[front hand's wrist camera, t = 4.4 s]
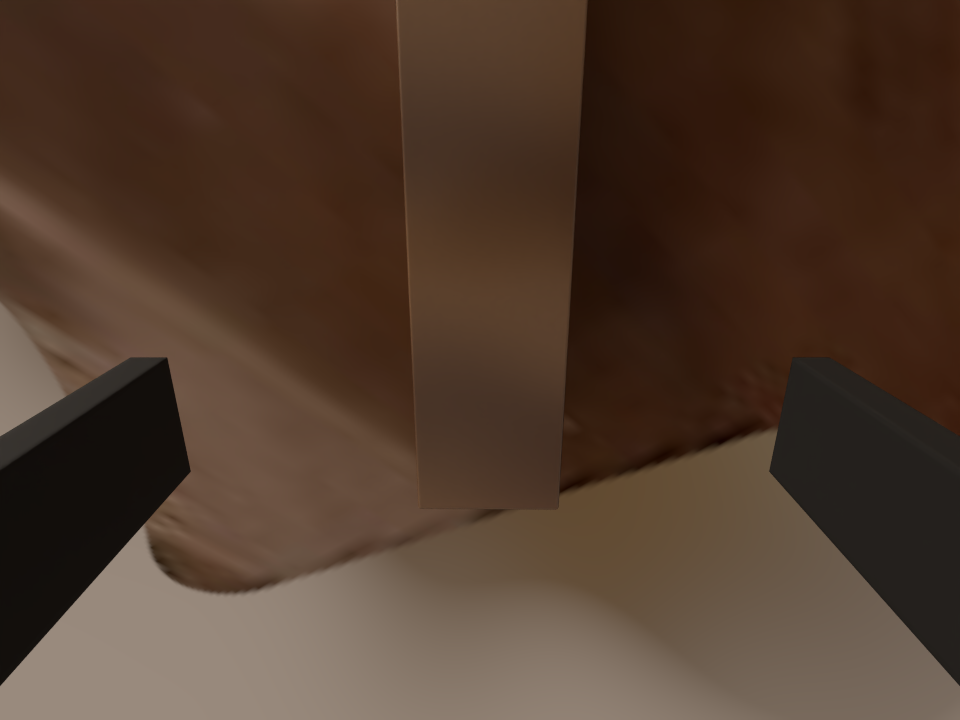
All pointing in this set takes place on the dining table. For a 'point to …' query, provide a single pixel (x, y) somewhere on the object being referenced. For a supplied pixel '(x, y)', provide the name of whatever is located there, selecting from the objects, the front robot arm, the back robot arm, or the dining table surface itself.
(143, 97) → the dining table surface
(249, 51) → the dining table surface
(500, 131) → the bar
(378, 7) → the dining table surface
